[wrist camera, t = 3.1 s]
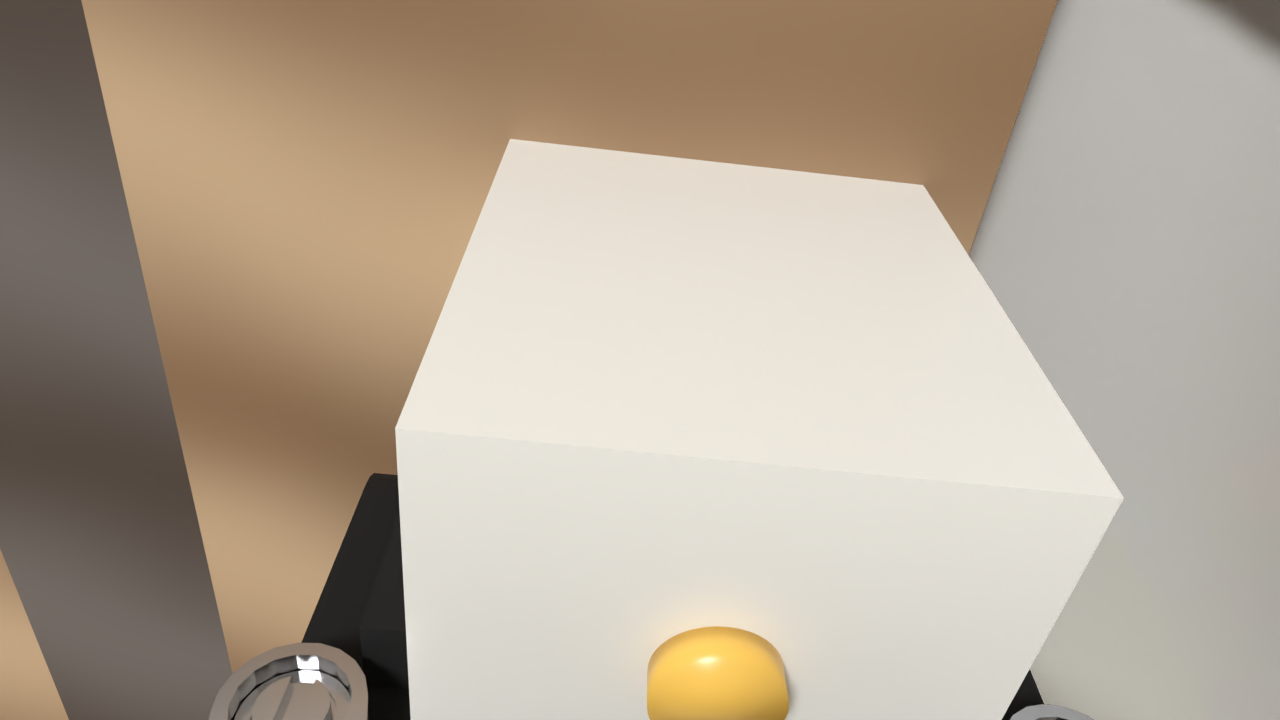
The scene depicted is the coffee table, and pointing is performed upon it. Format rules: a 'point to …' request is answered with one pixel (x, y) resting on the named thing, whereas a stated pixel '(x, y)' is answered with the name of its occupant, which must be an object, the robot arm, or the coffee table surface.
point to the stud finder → (729, 456)
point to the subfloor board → (346, 262)
